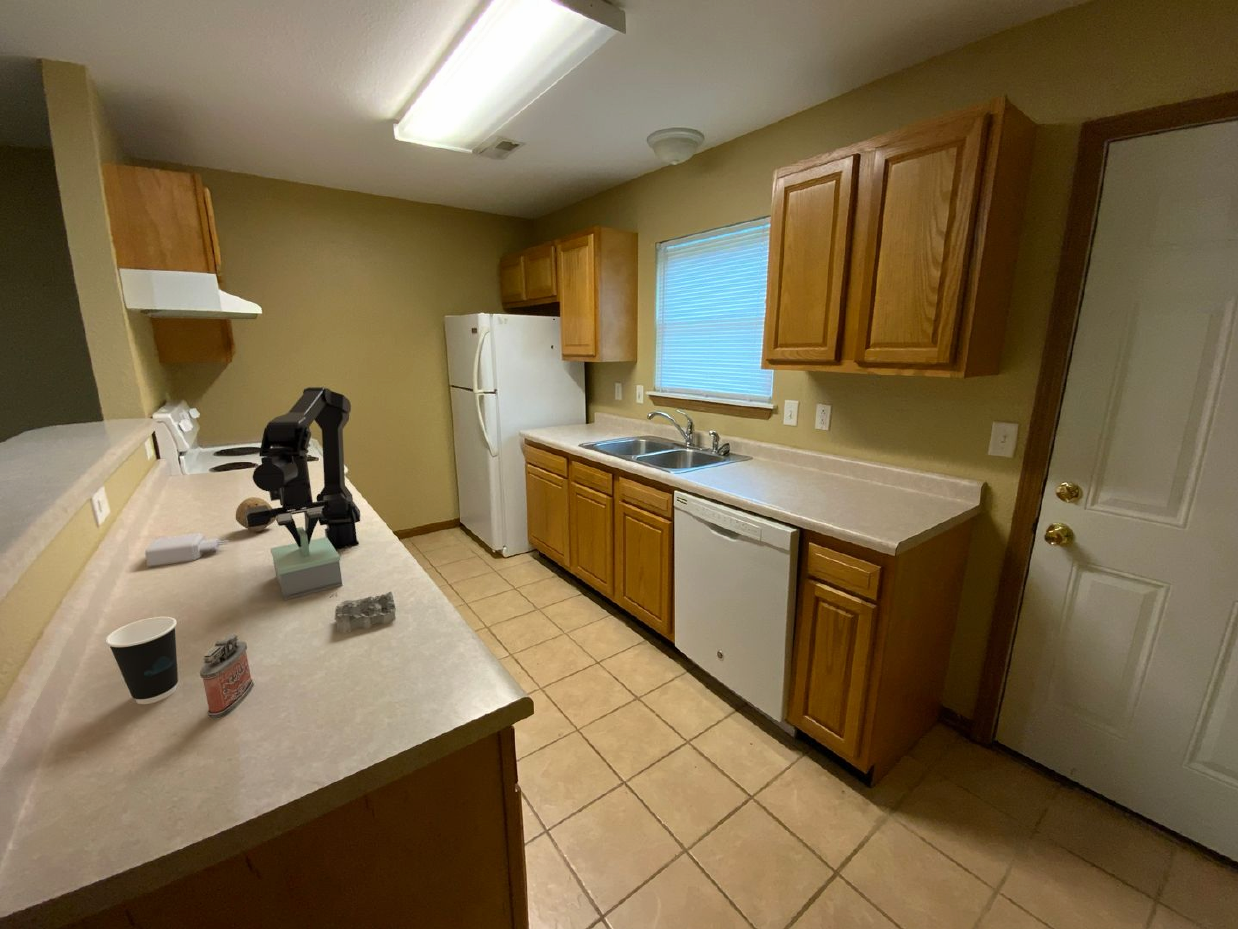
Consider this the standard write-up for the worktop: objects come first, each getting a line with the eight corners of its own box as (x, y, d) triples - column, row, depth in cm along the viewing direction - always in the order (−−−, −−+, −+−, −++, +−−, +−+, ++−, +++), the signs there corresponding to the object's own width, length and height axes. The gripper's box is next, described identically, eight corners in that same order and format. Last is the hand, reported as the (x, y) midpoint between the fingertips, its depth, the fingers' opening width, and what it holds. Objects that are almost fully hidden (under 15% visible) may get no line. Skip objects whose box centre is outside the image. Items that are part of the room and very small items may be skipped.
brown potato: (230, 534, 144) (224, 499, 142) (262, 523, 152) (256, 491, 150) (251, 538, 141) (246, 504, 139) (283, 528, 149) (278, 495, 147)
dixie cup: (171, 707, 77) (156, 641, 75) (107, 715, 75) (90, 648, 73) (200, 674, 85) (187, 613, 82) (143, 681, 83) (128, 619, 80)
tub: (329, 564, 126) (326, 541, 124) (342, 585, 115) (339, 560, 114) (275, 576, 119) (272, 552, 118) (284, 600, 109) (280, 574, 107)
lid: (327, 544, 125) (324, 517, 123) (341, 564, 114) (337, 534, 112) (271, 556, 118) (267, 527, 116) (280, 579, 107) (275, 547, 105)
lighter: (237, 683, 82) (226, 627, 80) (259, 682, 83) (249, 626, 80) (202, 719, 75) (189, 658, 72) (226, 718, 75) (214, 657, 73)
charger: (225, 557, 130) (148, 568, 123) (232, 544, 138) (160, 554, 131) (222, 540, 128) (144, 550, 122) (229, 528, 136) (156, 537, 130)
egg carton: (335, 636, 96) (332, 617, 95) (336, 617, 103) (334, 598, 102) (397, 623, 101) (395, 604, 100) (395, 606, 107) (393, 588, 106)
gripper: (334, 465, 123) (341, 526, 127) (238, 477, 112) (249, 544, 116) (344, 474, 115) (352, 540, 119) (242, 488, 103) (254, 561, 107)
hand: (303, 545), depth 115 cm, fingers closed on lid
